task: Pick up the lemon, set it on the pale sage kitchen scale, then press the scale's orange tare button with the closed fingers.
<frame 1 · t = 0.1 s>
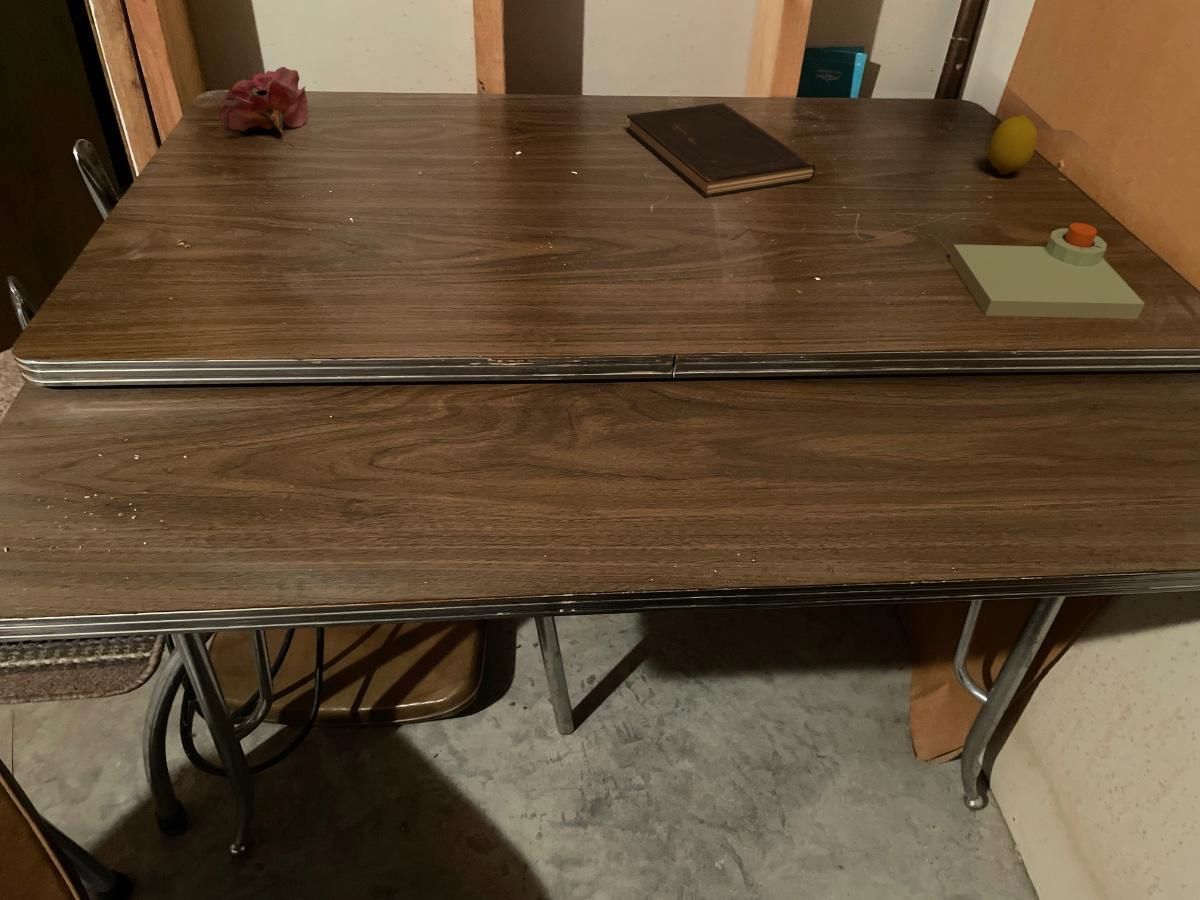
scale: (1038, 288, 99), on the table
tare button: (1080, 235, 100), point 4 cm above the table, slide at 0.1 cm
lemon: (1002, 176, 122), on the table
flower: (270, 134, 123), on the table
hardcover book: (715, 156, 123), on the table
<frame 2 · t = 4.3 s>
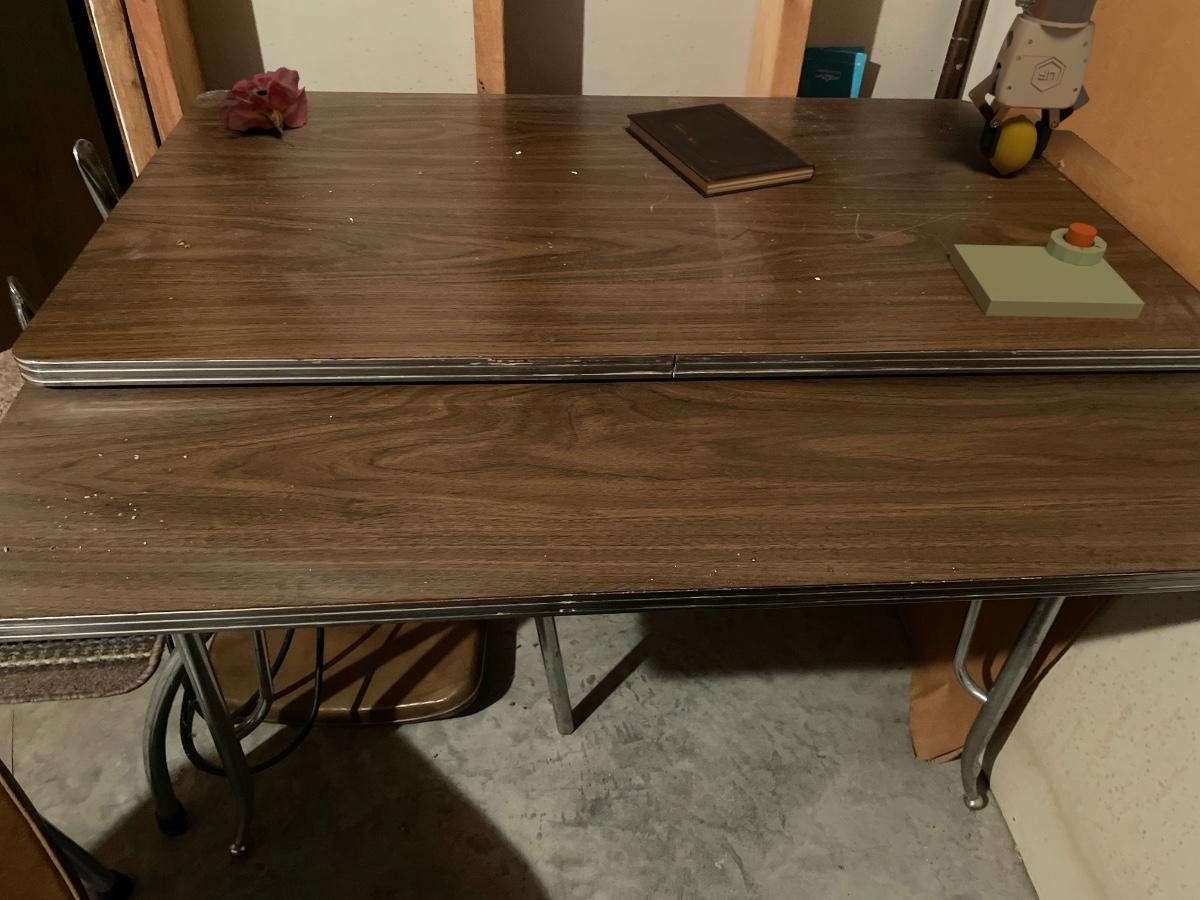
hand: (1009, 153, 120), 3 cm above the table, tool pointing down, fingers closed on lemon, 5 cm apart
lemon: (1002, 176, 122), on the table, touching gripper
everything else where it was.
when the fingers open (5 cm above the table, at t = 12.4 s): lemon stays where it is, resting on scale.
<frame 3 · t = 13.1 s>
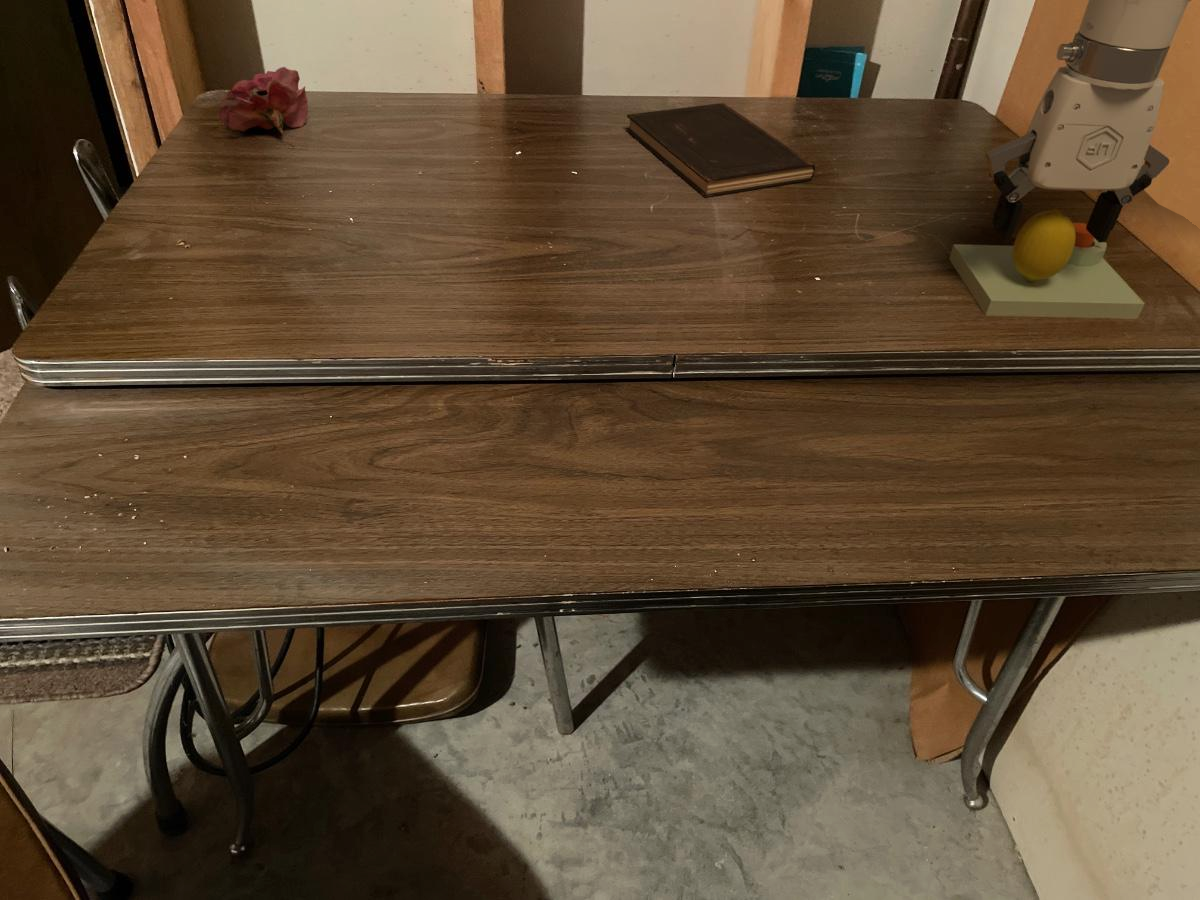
hand: (1048, 235, 92), 7 cm above the table, tool pointing down, fingers open, 9 cm apart
lemon: (1029, 282, 96), point 2 cm above the table, touching scale
everything else where it was.
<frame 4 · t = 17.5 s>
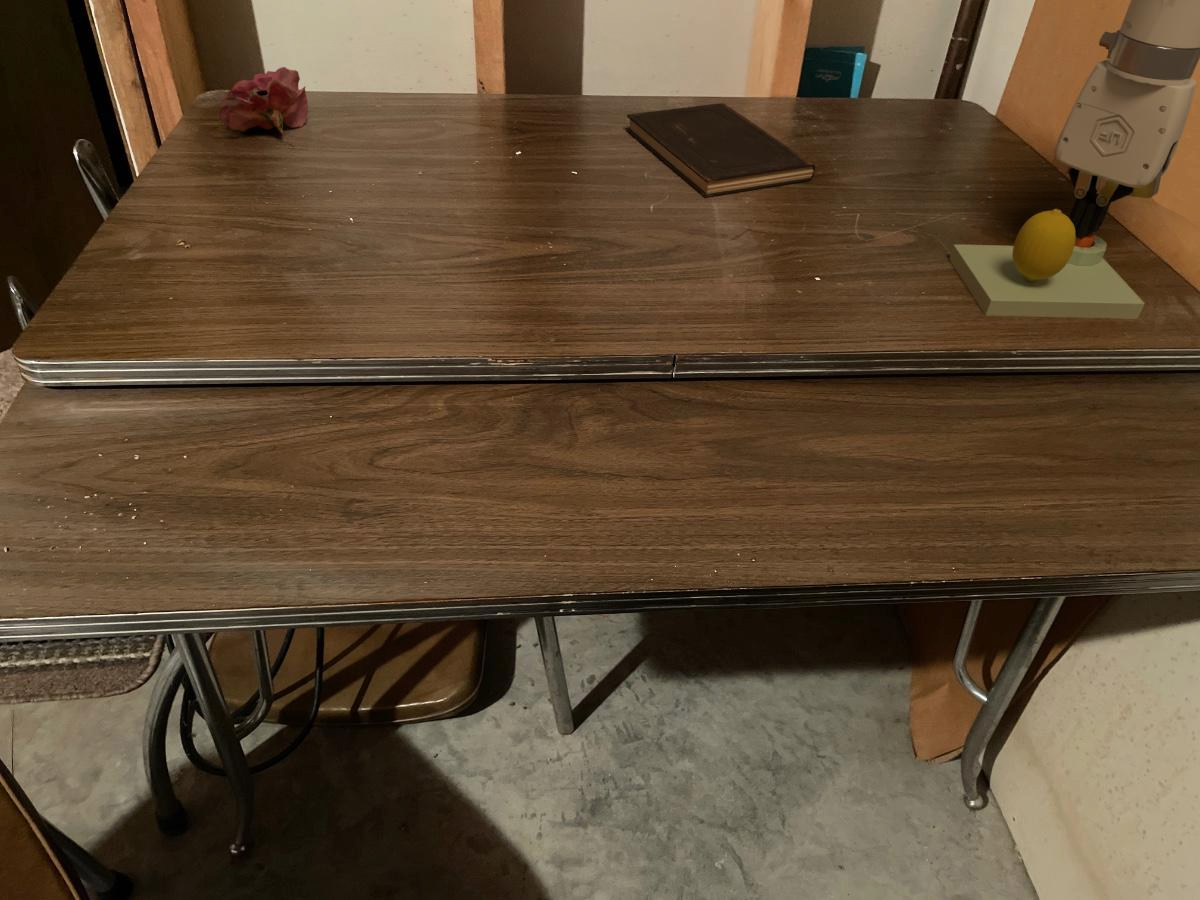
hand: (1080, 232, 99), 4 cm above the table, tool pointing down, fingers closed
tare button: (1078, 240, 100), point 3 cm above the table, slide at -0.4 cm, touching gripper
everything else where it was.
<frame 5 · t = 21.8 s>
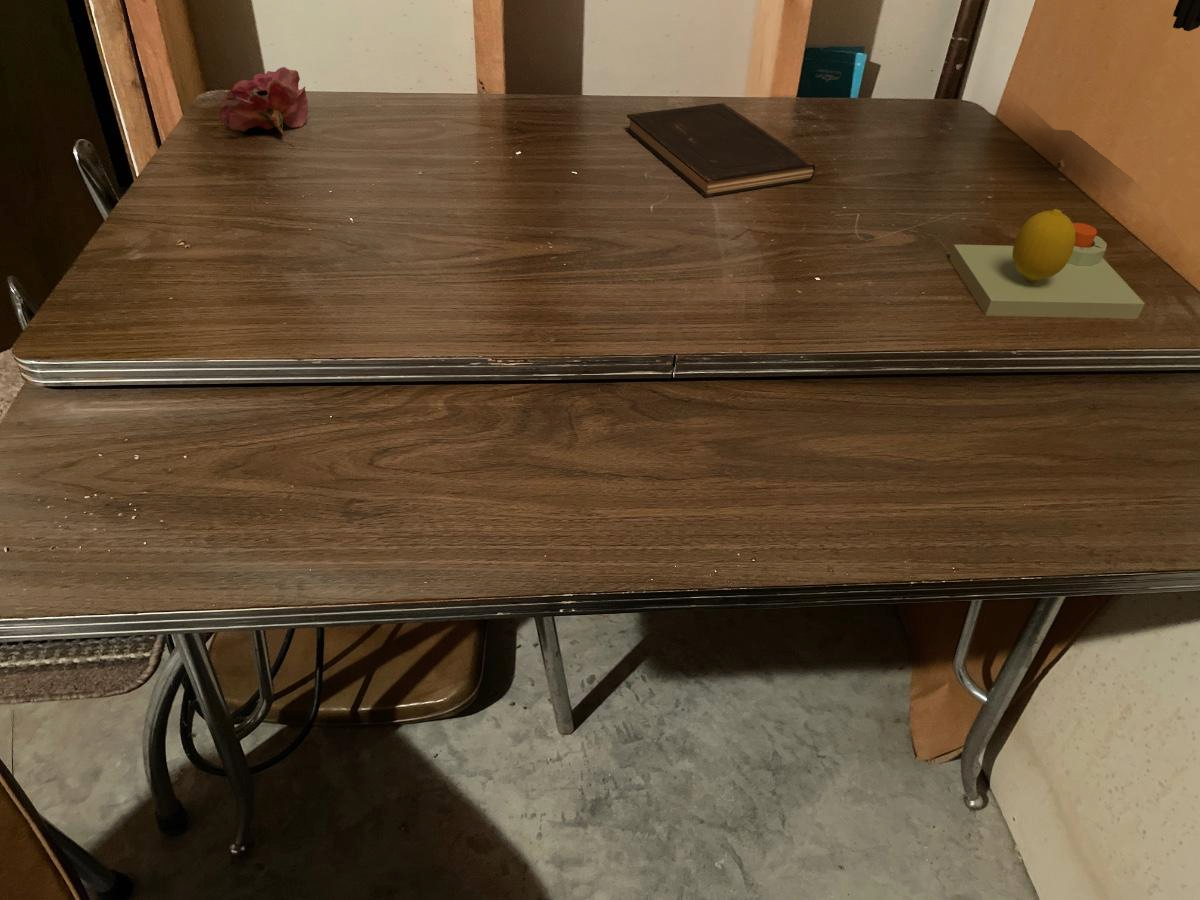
hand: (1186, 27, 95), 23 cm above the table, tool pointing down, fingers closed
tare button: (1080, 235, 100), point 4 cm above the table, slide at 0.1 cm
everything else where it was.
at the end: lemon inside the target area on the scale (0.8 cm from its centre), point 1.7 cm above the scale's base; tare button pushed in 0.9 cm at the most during the clip, back to where it started at the end; tare button slide at 0.1 cm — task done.
